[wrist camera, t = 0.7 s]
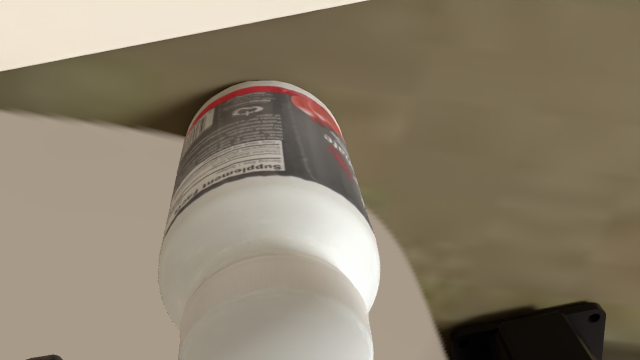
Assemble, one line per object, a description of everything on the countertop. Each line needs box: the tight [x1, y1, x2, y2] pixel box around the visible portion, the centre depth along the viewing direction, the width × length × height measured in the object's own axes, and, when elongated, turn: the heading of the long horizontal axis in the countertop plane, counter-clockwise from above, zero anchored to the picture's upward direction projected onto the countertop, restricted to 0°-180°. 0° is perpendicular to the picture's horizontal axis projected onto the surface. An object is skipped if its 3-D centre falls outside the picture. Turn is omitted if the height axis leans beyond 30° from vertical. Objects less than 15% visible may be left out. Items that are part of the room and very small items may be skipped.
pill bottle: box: [158, 81, 380, 360], centre depth 16 cm, size 5×5×10 cm
